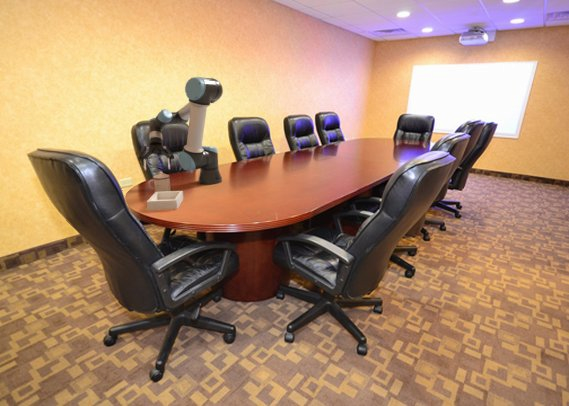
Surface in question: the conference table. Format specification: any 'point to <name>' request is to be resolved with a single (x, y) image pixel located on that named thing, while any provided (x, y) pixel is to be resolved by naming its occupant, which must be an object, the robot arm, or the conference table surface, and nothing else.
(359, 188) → the conference table surface
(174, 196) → the white open tray
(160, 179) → the teacup with lid
